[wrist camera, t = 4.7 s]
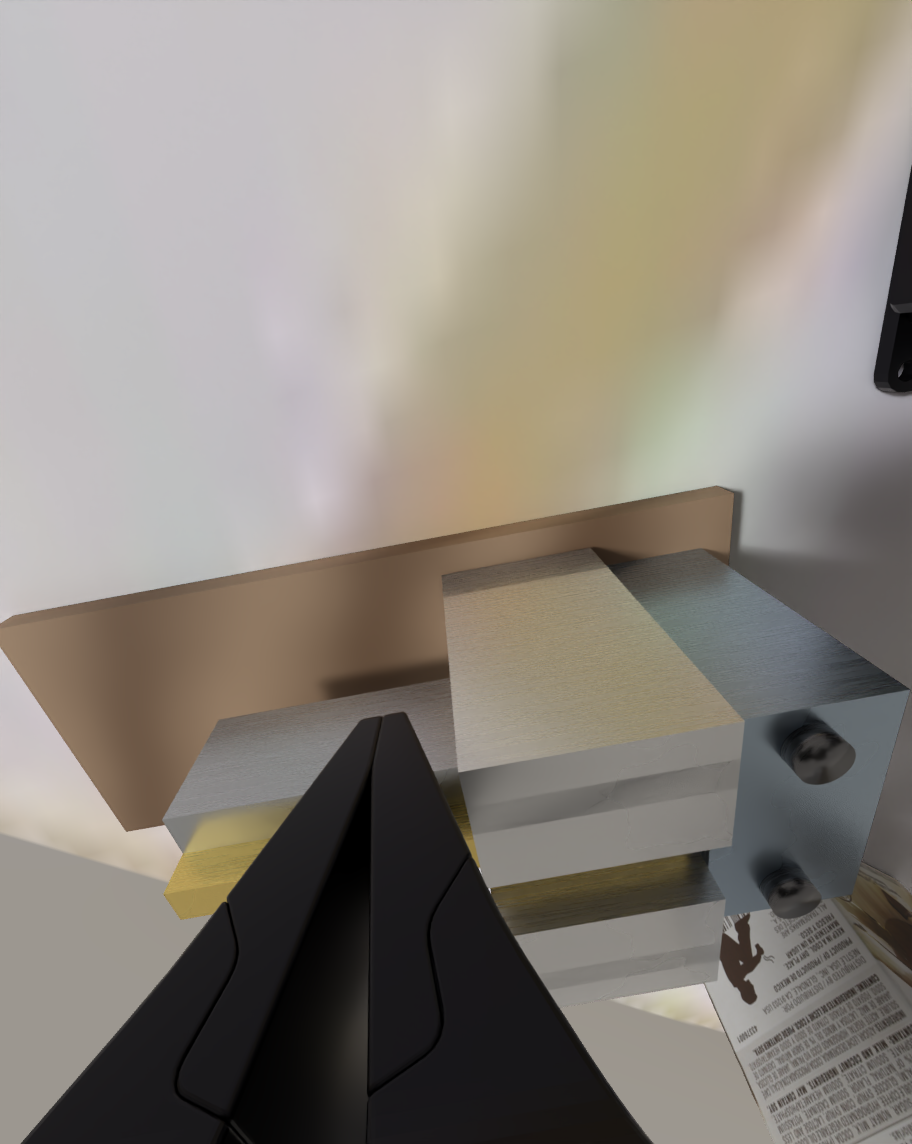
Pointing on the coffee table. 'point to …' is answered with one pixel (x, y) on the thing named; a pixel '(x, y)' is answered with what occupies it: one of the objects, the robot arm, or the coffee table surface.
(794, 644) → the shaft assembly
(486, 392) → the coffee table surface
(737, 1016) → the coffee box
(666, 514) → the board
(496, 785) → the grey slotted block
